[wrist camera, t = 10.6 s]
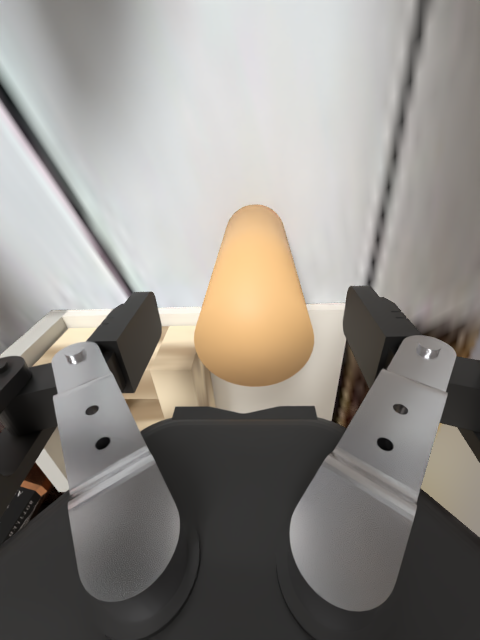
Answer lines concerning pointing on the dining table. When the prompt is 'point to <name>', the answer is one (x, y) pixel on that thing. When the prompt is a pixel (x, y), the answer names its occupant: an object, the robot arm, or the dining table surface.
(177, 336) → the socket block
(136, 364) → the robot arm
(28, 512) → the whiskey bottle
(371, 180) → the dining table surface
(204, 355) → the dowel
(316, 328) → the plate
